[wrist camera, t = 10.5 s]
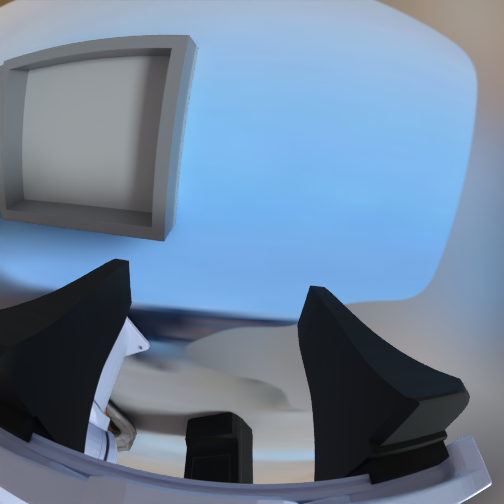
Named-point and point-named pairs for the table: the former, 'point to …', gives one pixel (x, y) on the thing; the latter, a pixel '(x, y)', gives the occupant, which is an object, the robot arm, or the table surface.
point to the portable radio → (219, 449)
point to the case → (96, 134)
